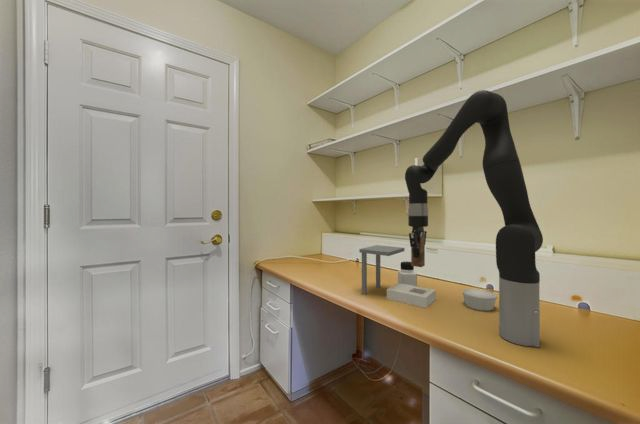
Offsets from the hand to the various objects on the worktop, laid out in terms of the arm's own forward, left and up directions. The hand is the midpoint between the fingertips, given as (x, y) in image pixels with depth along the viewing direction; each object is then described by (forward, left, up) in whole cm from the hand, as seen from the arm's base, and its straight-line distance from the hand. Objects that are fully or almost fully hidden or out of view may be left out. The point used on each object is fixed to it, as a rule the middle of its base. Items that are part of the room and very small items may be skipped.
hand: (418, 256), depth 104 cm
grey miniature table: (+16, 0, -18) cm, 24 cm away
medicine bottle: (+11, -16, -18) cm, 27 cm away
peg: (0, 0, -4) cm, 4 cm away
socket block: (+3, 0, -18) cm, 18 cm away
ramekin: (-20, -9, -19) cm, 29 cm away
